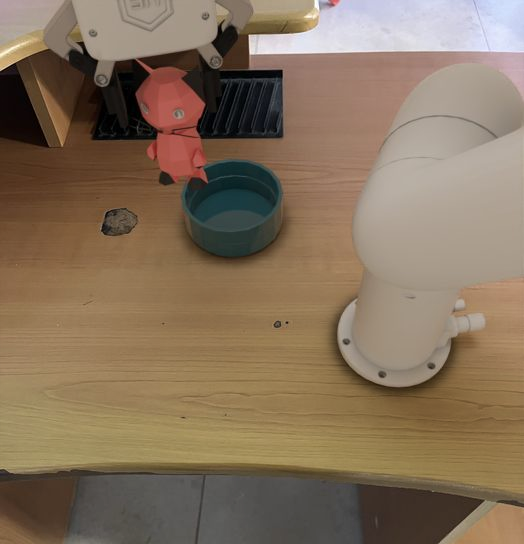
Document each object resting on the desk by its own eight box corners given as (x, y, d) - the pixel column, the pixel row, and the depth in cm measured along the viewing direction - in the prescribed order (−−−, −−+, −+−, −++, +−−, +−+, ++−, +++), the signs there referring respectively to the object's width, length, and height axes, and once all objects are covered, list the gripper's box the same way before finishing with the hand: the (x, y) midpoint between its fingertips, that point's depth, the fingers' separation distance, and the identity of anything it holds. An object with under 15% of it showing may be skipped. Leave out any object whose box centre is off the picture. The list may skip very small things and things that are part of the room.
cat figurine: (140, 192, 56) (107, 78, 45) (164, 146, 59) (140, 31, 49) (208, 204, 55) (190, 90, 44) (229, 157, 58) (218, 41, 48)
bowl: (272, 181, 79) (272, 152, 74) (291, 250, 72) (291, 222, 68) (182, 195, 78) (176, 166, 74) (192, 265, 71) (186, 238, 67)
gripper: (-30, -95, 33) (70, 154, 48) (265, -135, 34) (272, 120, 49) (-24, -146, 37) (67, 100, 52) (242, -180, 38) (254, 70, 53)
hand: (167, 109), depth 50 cm, fingers closed on cat figurine, 7 cm apart
